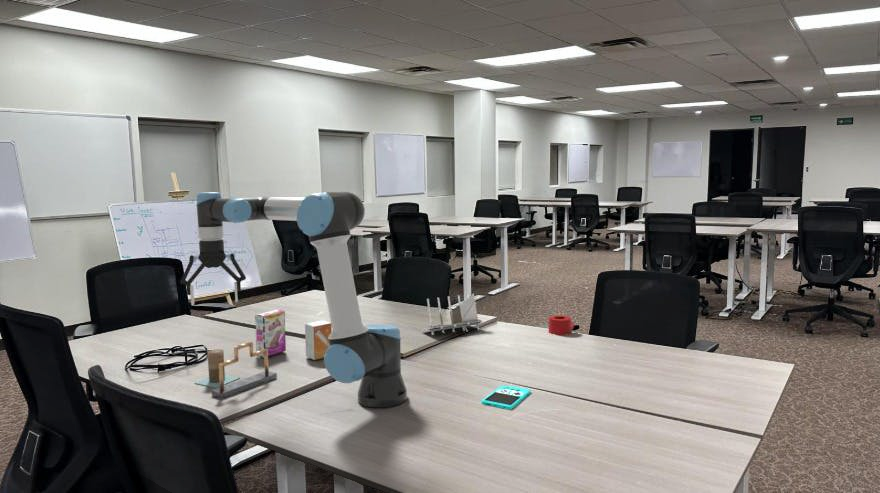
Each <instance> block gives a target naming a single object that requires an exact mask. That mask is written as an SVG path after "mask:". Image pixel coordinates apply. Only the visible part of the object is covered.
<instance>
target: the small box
mask: <svg viewBox="0 0 880 493" xmlns="http://www.w3.org/2000/svg"><path fill="white" fill-rule="evenodd" d="M331 332H332V325H331V321H330V322H329V321H326V320H323V319H322V320H317V321H313V322H309V323H305V324H304V336H305V340H304V341H305V357H306V358H308V359H311V360H313V361H316V360H319V359H324V354H325V353H326V350H327V349H328V348H329V347H330V344H329V339H328V337H329V335H330V334H331Z"/></svg>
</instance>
